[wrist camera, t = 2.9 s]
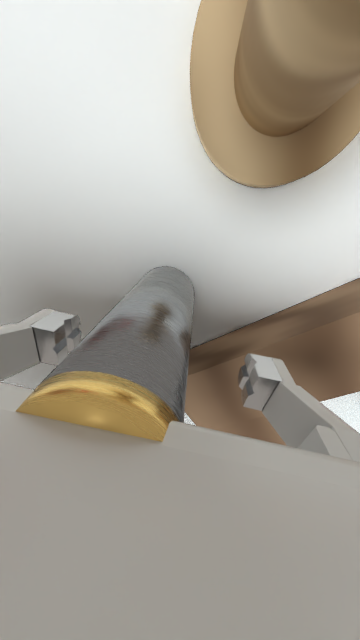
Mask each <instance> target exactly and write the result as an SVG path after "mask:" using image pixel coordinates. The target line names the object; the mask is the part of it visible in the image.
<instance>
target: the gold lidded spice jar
mask: <svg viewBox="0 0 360 640" xmlns="http://www.w3.org/2000/svg"><path fill="white" fill-rule="evenodd" d="M193 306H194V288H193V285H192V283H191V281H190V279H189V278H188V277H187V276H186V275H185V274H184V273H183V272H182V271H180V270H178V269H176V268H173V267H168V266H162V267H157V268H154V269H152V270H150V271H149V272H148V273H147V274H146V275H145V276H144V277H143V278H142V279H141V280H140V281H139V282H138V283H137V284H136V285H135V286H134V287H133V288H132V289H131V290H130V291H129V292H128V293H127V294H126V295H125V296H124V297H123V298H122V300H121V301H120V302H119V303H118V304H117V305H116V306H115V307H114V308H113V309H112V310H111V311H110V312H109V313H108V314H107V315H106V316H105V317H104V318H103V319H102V320H101V321H100V322H99V323H98V324H97V325H96V326H95V327H94V329H93V330H92V331H91V332H90V333H89V334H88V335H87V336H86V337H85V338H84V339H83V340H82V341H81V342H80V343H79V344H78V345H77V346H76V347H75V348H74V349H73V350H72V351H71V352H70V353H69V354H68V355H67V357H66V358H65V359H64V360H63V361H62V362H61V363H60V364H59V365H58V366H57V367H56V368H55V369H54V370H53V371H52V372H51V373H50V374H49V375H48V376H47V377H46V378H45V379H44V380H43V381H42V382H41V383H40V384H39V386H38V387H37V388H36V389H35V390H34V391H33V392H32V393H31V394H30V395H29V396H28V397H27V399H26V400H25V401H24V402H23V403H22V404H21V405H20V407H19V408H18V409H17V410H16V412H21V413H26V414H31V415H36V416H40V417H45V418H50V419H55V420H59V421H64V422H69V423H74V424H79V425H83V426H88V427H93V428H98V429H103V430H107V431H112V432H117V433H122V434H127V435H131V436H136V437H141V438H146V439H150V440H155V441H160V442H163V439H164V437H165V434H166V431H167V428H168V425H169V423H170V422H171V421H178V422H182V423H184V411H185V400H186V388H187V376H188V365H189V353H190V341H191V330H192V318H193Z"/></svg>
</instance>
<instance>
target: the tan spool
mask: <svg viewBox="0 0 360 640" xmlns="http://www.w3.org/2000/svg"><path fill="white" fill-rule="evenodd" d="M190 87H191V101H192V109H193V116H194V121H195V125H196V129H197V132H198V135H199V138H200V141H201V143H202V145H203V147H204V149H205V151H206V153H207V155H208V156H209V158H210V159H211V161H212V162H213V164H214V165H215V166H216V167H217V168H218V169H219V170H220V171H221V172H222V173H223V174H225V175H226V176H227V177H228V178H230V179H232V180H234V181H235V182H237V183H240V184H242V185H245V186H250V187H255V188H269V187H276V186H280V185H284V184H287V183H290V182H292V181H295V180H297V179H300V178H302V177H305V176H307V175H309V174H311V173H312V172H314V171H316V170H318V169H319V168H321V167H322V166H324V165H325V164H326V163H328V162H329V161H330V160H332V159H333V158H334V157H335V156H336V155H338V154H339V153H340V152H341V151H342V150H343V149H344V148H345V147H346V146H347V145H348V144H349V143H350V142H351V141H352V140H353V139H354V137H355V136H356V135H357V134H358V133H359V131H360V0H201V3H200V6H199V10H198V14H197V18H196V23H195V28H194V32H193V40H192V47H191V59H190Z"/></svg>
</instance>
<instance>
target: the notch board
mask: <svg viewBox="0 0 360 640" xmlns="http://www.w3.org/2000/svg"><path fill="white" fill-rule="evenodd" d="M248 353H251V354H256V355H261V356H266V357H272V358H277V359H281V360H282V361H283V362H284V364H285V366H286V367H287V369H288V371H289V373H290V375H291V377H292V378H293V380H294V382H295V384H296V385H298V386H301V387H302V388H303V389H304V390H306V391H307V392H308V393H309V394H311V395H312V396H313V397H314V398H316V399H317V400H318V401H319V402H320V401H324V400H328V399H332V398H336V397H340V396H343V395H347V394H351V393H355V392H359V391H360V278H359V279H356V280H354V281H352V282H349V283H347V284H344V285H342V286H340V287H337V288H335V289H333V290H330V291H328V292H325V293H323V294H321V295H318V296H316V297H314V298H311V299H309V300H306V301H304V302H302V303H299V304H297V305H295V306H292V307H290V308H287V309H285V310H283V311H280V312H278V313H276V314H273V315H271V316H268V317H266V318H264V319H261V320H259V321H257V322H254V323H252V324H250V325H247V326H245V327H242V328H240V329H238V330H235V331H233V332H231V333H228V334H226V335H223V336H221V337H219V338H216V339H214V340H212V341H209V342H207V343H204V344H202V345H200V346H197V347H195V348H193V349H190V353H189V365H188V376H187V388H186V400H185V413H186V414H187V415H188V416H189V417H190V419H191V420H192V421H193V422H194V423H195V425H196V426H200V427H204V428H209V429H213V430H218V431H222V432H227V433H231V434H235V435H240V436H244V437H249V438H253V439H258V440H263V441H267V442H272V443H276V444H281V445H285V446H287V445H286V444H285V442H284V441H283V440H282V438H281V437H280V436H279V434H278V433H277V432H276V430H275V429H274V428H273V426H272V425H271V424H270V422H269V421H268V420H267V418H266V417H265V416H264V414H263V413H262V411H259V410H255V409H251V408H247V407H243V404H242V399H241V395H240V394H241V392H242V389H241V388H240V387H239V385H238V375H239V371H240V368H241V367H242V366H243V365H245V360H244V359H245V357H246V355H247V354H248Z"/></svg>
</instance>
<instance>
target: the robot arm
mask: <svg viewBox="0 0 360 640" xmlns="http://www.w3.org/2000/svg"><path fill="white" fill-rule="evenodd" d="M79 325H80V318H79V317H78V316H77V315H73V314H69V313H64V312H60V311H56V310H51V309H42V310H41V311H39V312H37V313H35V314H33V315H32V316H30V317H28V318H26V319H24V320H23V321H21V322H19V323H17V324H14V323H11V324H6V325H1V326H0V381H2V380H4V379H6V378H9V377H11V376H13V375H15V374H17V373H19V372H22V371H24V370H26V369H28V368H30V367H32V366H35V365H37V364H39V363H40V362H42V363H47V364H53V365H59V364H60V363H61V362H62V361H63V360H64V359H65V358H66V357H67V355H68V352H71V351H72V350H73V349H74V348H75V347H76V346H77V345H78V344H79V343H80V341H81V331H80V330H79V328H78V326H79ZM244 360H245V365H243V366H242V367H241V368H240V371H239V375H238V385H239V387H240V388H241V389H242V392H241V394H240V395H241V399H242V404H243V407H247V408H251V409H255V410H259V411H262V413H263V414H264V416H265V417H266V418H267V420H268V421H269V422H270V424H271V425H272V426H273V428H274V429H275V430H276V432H277V433H278V434H279V436H280V437H281V438H282V440H283V441H284V442H285V444H286V445H287V446H285V445H281V444H276V443H272V442H267V441H263V440H258V439H253V438H249V437H244V436H240V435H235V434H231V433H227V432H222V431H218V430H213V429H209V428H204V427H200V426H195V425H191V424H186V423H182V422H178V421H171V422H170V423H169V425H168V428H167V431H166V434H165V437H164V439H163V442H160V441H155V440H150V439H146V438H141V437H136V436H131V435H127V434H122V433H117V432H112V431H107V430H103V429H98V428H93V427H88V426H83V425H79V424H74V423H69V422H64V421H59V420H55V419H50V418H45V417H40V416H36V415H31V414H26V413H21V412H16V410H17V409H18V408H19V407H20V405H21V404H22V403H23V402H24V401H25V400H26V399H27V397H28V396H29V395H30V394H31V393H32V392H33V391H34V389H30V388H25V387H21V386H16V385H12V384H7V383H3V382H0V640H360V434H359V433H358V432H357V431H356V430H354V429H353V428H352V427H351V426H349V425H348V424H347V423H346V422H344V421H343V420H342V419H341V418H339V417H338V416H337V415H336V414H334V413H333V412H332V411H331V410H329V409H328V408H327V407H326V406H324V405H323V404H322V403H321V402H319V401H318V400H317V399H316V398H314V397H313V396H312V395H311V394H309V393H308V392H307V391H306V390H304V389H303V388H302V387H301V386H298V385H296V384H295V382H294V380H293V378H292V377H291V375H290V373H289V371H288V369H287V367H286V366H285V364H284V362H283V361H282V360H281V359H277V358H272V357H266V356H261V355H256V354H251V353H248V354H247V355H246V357H245V359H244Z"/></svg>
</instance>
